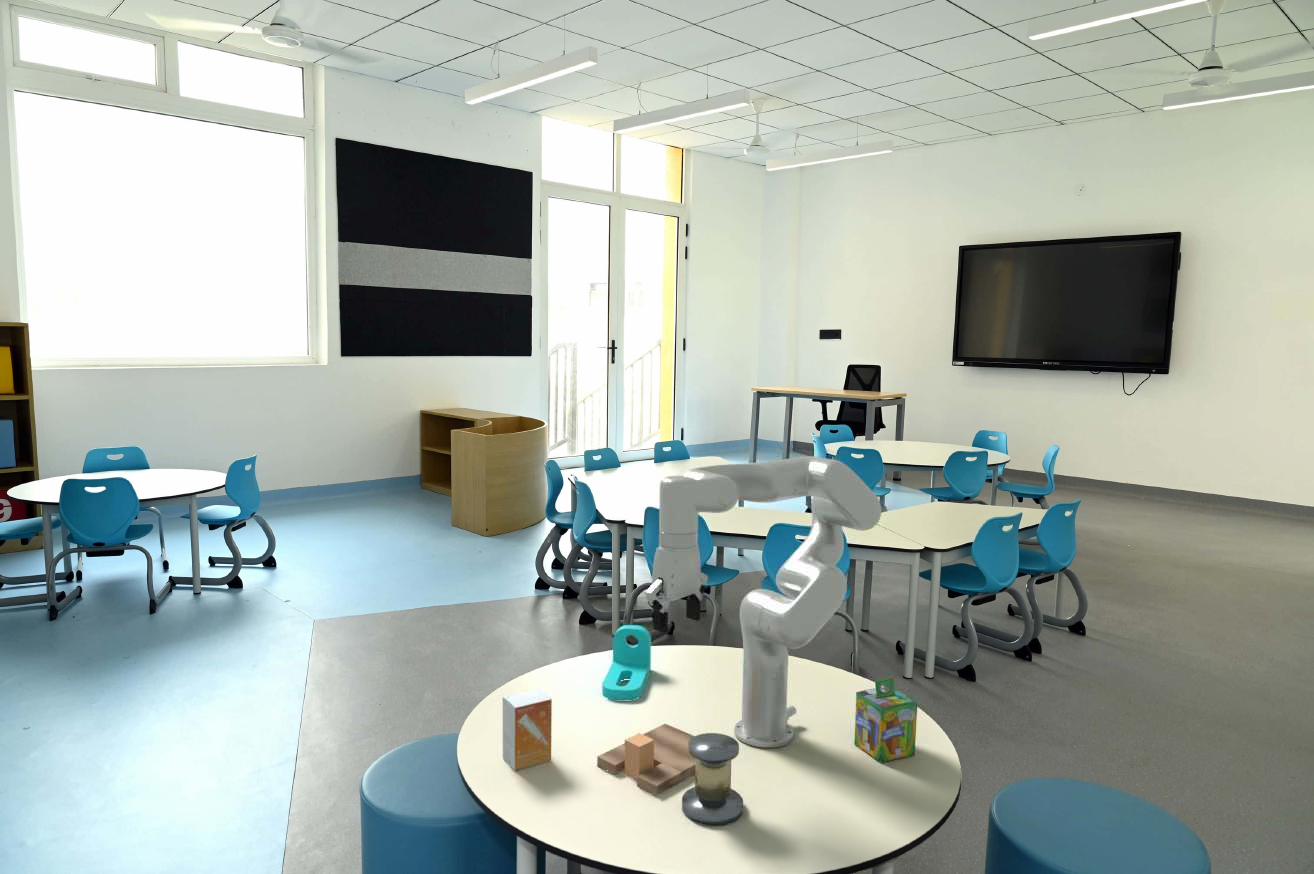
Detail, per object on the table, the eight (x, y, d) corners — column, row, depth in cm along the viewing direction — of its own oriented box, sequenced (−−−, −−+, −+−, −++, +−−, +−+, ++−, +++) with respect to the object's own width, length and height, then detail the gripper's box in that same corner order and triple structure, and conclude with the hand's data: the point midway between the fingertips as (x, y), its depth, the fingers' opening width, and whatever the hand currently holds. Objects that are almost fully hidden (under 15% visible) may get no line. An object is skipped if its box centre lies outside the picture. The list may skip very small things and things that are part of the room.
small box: (514, 771, 158) (514, 707, 157) (502, 758, 164) (501, 695, 162) (552, 760, 163) (552, 698, 162) (538, 748, 168) (538, 687, 167)
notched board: (665, 732, 176) (665, 723, 176) (723, 757, 165) (723, 748, 165) (597, 765, 161) (597, 756, 161) (656, 796, 150) (656, 785, 150)
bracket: (614, 668, 212) (615, 624, 211) (650, 670, 211) (651, 626, 210) (599, 700, 192) (599, 651, 191) (638, 702, 191) (639, 654, 190)
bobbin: (708, 785, 154) (709, 724, 153) (755, 807, 147) (757, 744, 146) (669, 808, 146) (670, 744, 145) (717, 833, 139) (718, 766, 138)
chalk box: (880, 764, 163) (883, 693, 162) (852, 744, 172) (854, 676, 170) (917, 755, 167) (920, 686, 165) (887, 736, 175) (890, 670, 174)
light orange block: (639, 766, 161) (639, 732, 160) (653, 774, 158) (654, 739, 158) (624, 774, 158) (624, 739, 157) (639, 781, 155) (639, 746, 155)
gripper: (692, 529, 167) (691, 610, 169) (633, 543, 155) (632, 630, 156) (721, 535, 162) (719, 618, 164) (662, 550, 150) (661, 640, 151)
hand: (677, 624), depth 160 cm, fingers open, 9 cm apart
